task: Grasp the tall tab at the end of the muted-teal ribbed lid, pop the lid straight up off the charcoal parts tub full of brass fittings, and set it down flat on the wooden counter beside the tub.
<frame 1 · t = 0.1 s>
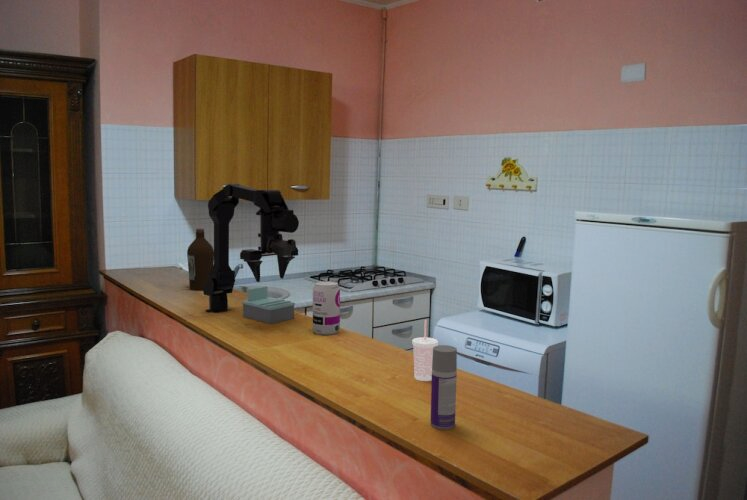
hand: (270, 280, 181), 15 cm above the counter, fingers open, 9 cm apart
olive oil: (201, 289, 241), on the counter
tub: (268, 319, 191), on the counter
lid: (268, 304, 190), point 5 cm above the counter, touching tub
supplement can: (326, 332, 176), on the counter
beverage cup: (424, 378, 137), on the counter
container: (442, 425, 111), on the counter
brass parts: (268, 317, 191), point 1 cm above the counter, touching tub
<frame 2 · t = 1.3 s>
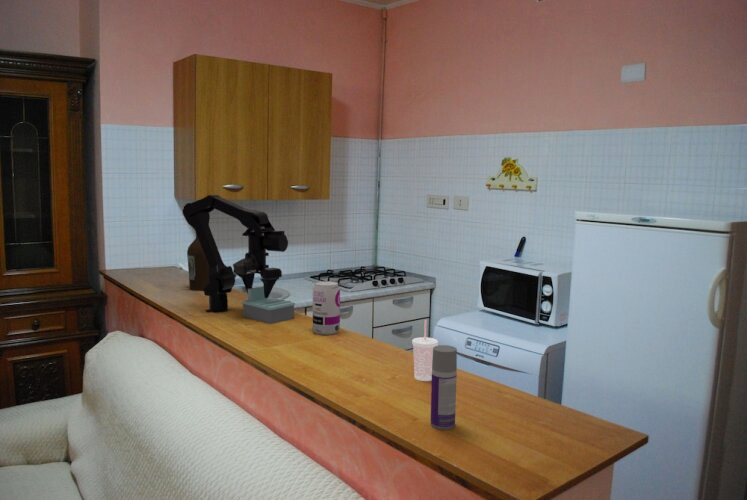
hand: (257, 296, 194), 7 cm above the counter, fingers open, 9 cm apart
nothing on the counter moved.
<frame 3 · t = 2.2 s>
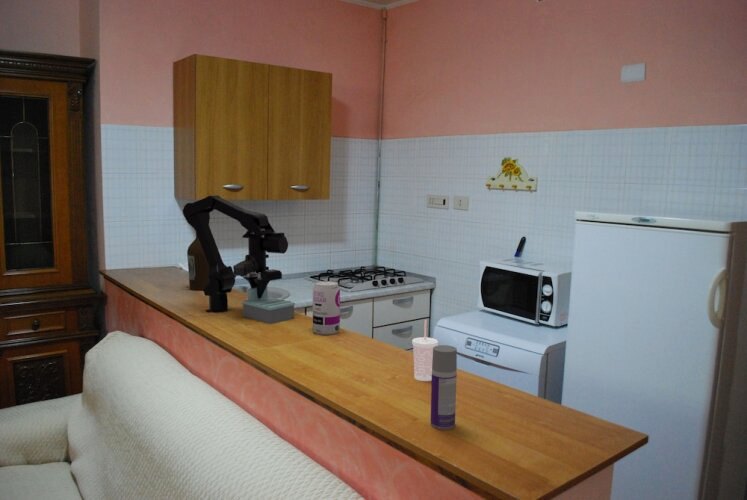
hand: (257, 297, 194), 6 cm above the counter, fingers closed on lid
lid: (268, 304, 190), point 5 cm above the counter, touching gripper, tub
everything else where it was.
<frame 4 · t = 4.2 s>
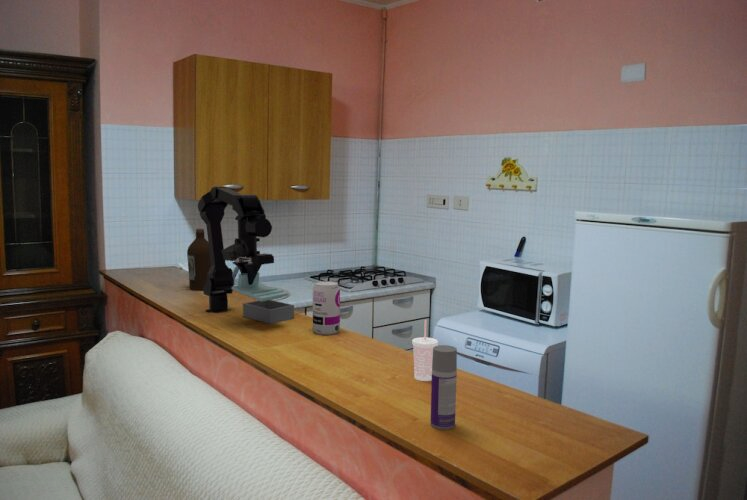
hand: (248, 284, 183), 13 cm above the counter, fingers closed on lid
lid: (259, 292, 180), point 11 cm above the counter, tilted 7°, touching gripper
everything else where it was.
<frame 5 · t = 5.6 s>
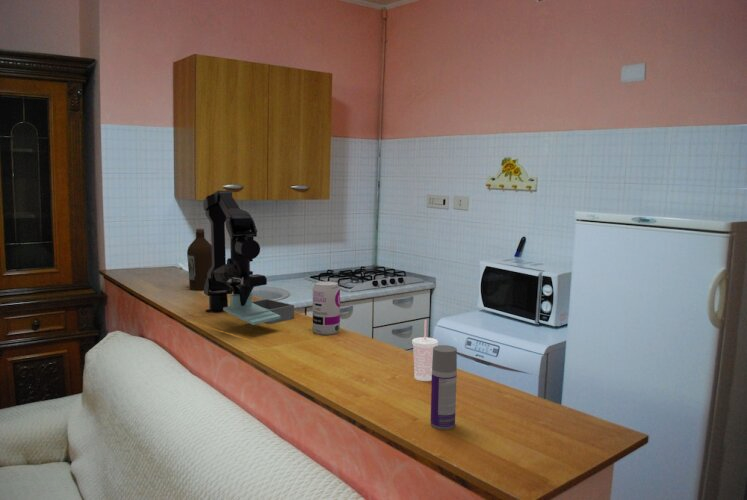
hand: (240, 305, 178), 7 cm above the counter, fingers closed on lid
lid: (251, 314, 175), point 5 cm above the counter, tilted 8°, touching gripper
everything else where it was.
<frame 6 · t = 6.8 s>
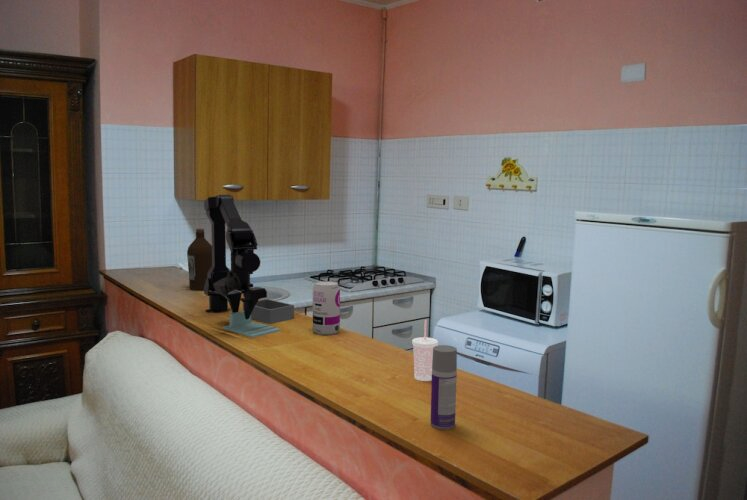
hand: (241, 317, 178), 3 cm above the counter, fingers open, 6 cm apart
lid: (251, 330, 175), on the counter
everything else where it was.
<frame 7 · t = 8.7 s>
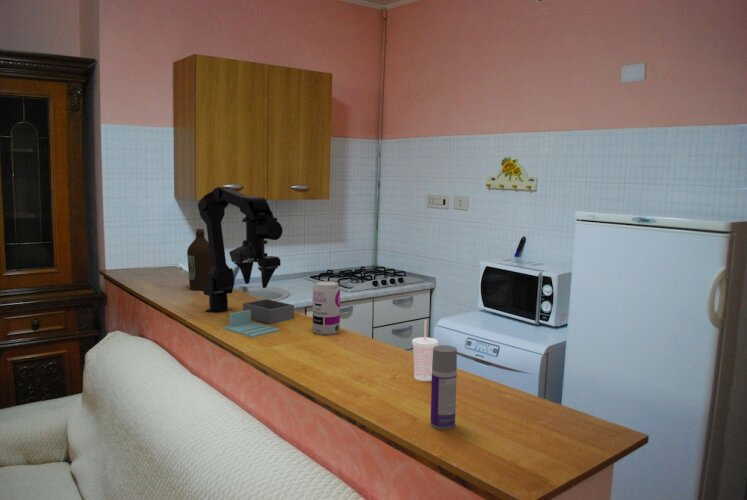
hand: (255, 285, 184), 12 cm above the counter, fingers open, 9 cm apart
nothing on the counter moved.
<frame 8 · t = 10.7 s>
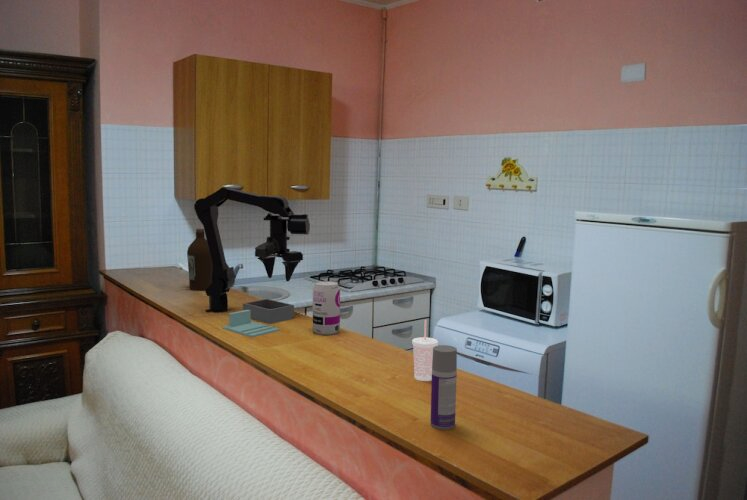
hand: (278, 279, 197), 12 cm above the counter, fingers open, 9 cm apart
nothing on the counter moved.
at the end: lid inside the target area (0.8 cm from its centre), on the counter; lid tilted 0°; the gripper is holding nothing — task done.
